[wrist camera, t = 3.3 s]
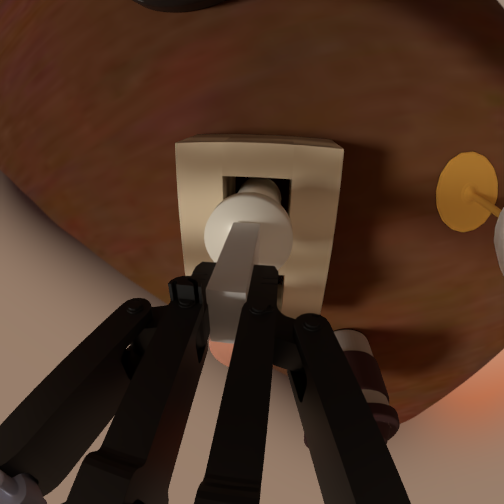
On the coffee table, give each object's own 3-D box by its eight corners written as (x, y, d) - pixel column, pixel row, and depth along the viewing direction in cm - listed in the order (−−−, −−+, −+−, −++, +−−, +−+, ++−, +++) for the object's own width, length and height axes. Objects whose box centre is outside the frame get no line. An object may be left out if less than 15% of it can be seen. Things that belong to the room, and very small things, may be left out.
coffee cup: (309, 375, 39) (310, 471, 26) (297, 327, 35) (296, 439, 21) (377, 363, 37) (396, 456, 23) (377, 312, 32) (408, 419, 19)
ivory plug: (228, 166, 23) (201, 196, 16) (292, 169, 23) (296, 200, 16) (229, 224, 26) (206, 275, 19) (288, 228, 25) (289, 281, 18)
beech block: (197, 134, 25) (175, 143, 20) (331, 139, 24) (344, 149, 19) (206, 296, 34) (193, 331, 28) (311, 304, 33) (314, 341, 27)
